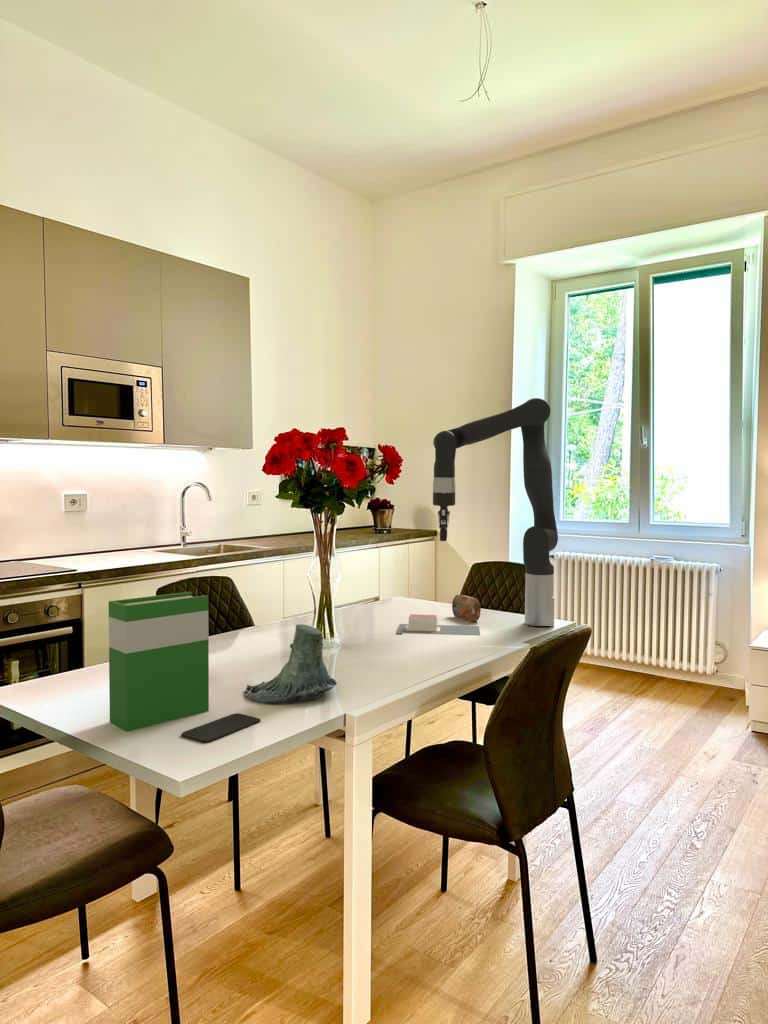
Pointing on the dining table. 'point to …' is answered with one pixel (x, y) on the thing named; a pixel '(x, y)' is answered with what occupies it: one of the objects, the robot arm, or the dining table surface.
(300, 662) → the tree stump
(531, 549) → the robot arm
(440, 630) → the mat
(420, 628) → the card deck
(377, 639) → the dining table surface
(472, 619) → the tin
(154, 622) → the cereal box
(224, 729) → the phone
